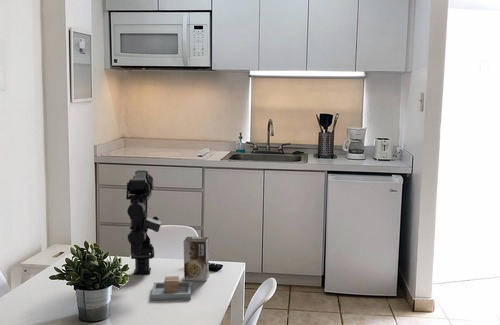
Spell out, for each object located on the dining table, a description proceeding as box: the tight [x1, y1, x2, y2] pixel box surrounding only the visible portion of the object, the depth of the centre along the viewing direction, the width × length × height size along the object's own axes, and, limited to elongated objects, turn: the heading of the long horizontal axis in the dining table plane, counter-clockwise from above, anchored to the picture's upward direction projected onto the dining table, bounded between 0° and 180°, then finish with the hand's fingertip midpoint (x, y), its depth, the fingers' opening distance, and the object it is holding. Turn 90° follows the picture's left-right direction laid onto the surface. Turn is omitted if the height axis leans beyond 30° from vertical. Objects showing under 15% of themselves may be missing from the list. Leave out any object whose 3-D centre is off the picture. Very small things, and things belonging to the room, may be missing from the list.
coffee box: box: [183, 236, 210, 282], centre depth 224 cm, size 9×6×16 cm
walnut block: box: [163, 275, 180, 293], centre depth 208 cm, size 5×5×5 cm
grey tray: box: [150, 281, 192, 301], centre depth 209 cm, size 12×14×2 cm
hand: (138, 252), depth 215 cm, fingers open, 9 cm apart
